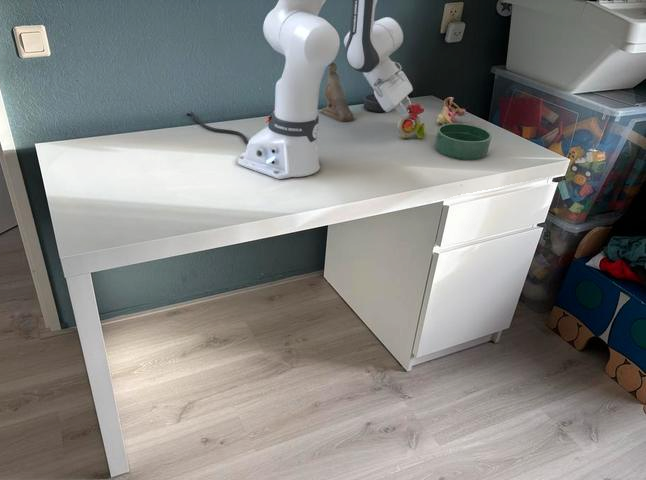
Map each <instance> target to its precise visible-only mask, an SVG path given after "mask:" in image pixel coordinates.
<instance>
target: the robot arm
mask: <svg viewBox="0 0 646 480" xmlns="http://www.w3.org/2000/svg"><path fill="white" fill-rule="evenodd" d="M326 1H327V0H278V1H277V3H276V5H275V7H274V8H273V9H271V10H270V11H269V12H268V13H267V15H266V16H265V19H264V21H263V25H262V33H263V35H264V36H263V37H264V38H265V40H266V41H267V44H268V45H270V46H271V48H272V49H273V50H274V51H276V52H277V53H279V54H281V55H283V56H284V57H285V63H284V68H283V72H282V75H281V77H280V78H279V79H278V80H277V81H276V83H275V85H274V86H275V87H274V91H275V92H274V110H273V111H272V113H270V114H268V116H267V117H266V118H265V123H268V125H267V126H266V127H264V128H263V129H261V130H260V131H258V132H257V133H255V134H254V135H253V136H251V138H250V139H249V140H247V138H246V136H245V134H243V133H242V132H240V131H239V130H238V131H237V130H233V129H224V128H217V127H212V126H209V125H207V124H205V123H204V122H202V121H201V120H199V119H198V118H197V117H196V115H195V114H194V113H193V112H192V111H191V113H190V114H189V113H188V112H187V113H186V116H190V115H191V117H192V119H193V120H194V121H195V122H196V123H197V124H199V125H200V126H202V127H203V128H204V129H207V130H209V131H212V132H218V133H225V134H226V133H228V134H234V135H237V136H240V137H241V138H242V140H243V142H244V143H245V144H246V150H245V151H243V152H242V153H241V154H240V155H239V156H238V158H237V165H238V166H241V167H243V168H246V169H250V170H253V171H255V172H258V173H260V174H264V175H266V176H269V177H271V178H275V179H279V180H284V179H288V178H302V177H308V176H310V175H311V176H312V175H314V174H316V173H317V172H318V171H319V170H320V168H321V165H320V162H319V156H318V155H319V154H318V146H317V145H318V144H317V143H318V142H317V139H318V135H319V126H320V125H319V121H320V120H319V118H320V117H319V115H318V113H319V112H318V111H319V110H318V109H319V101H320V100H319V99H320V89H321V85H322V80H323V77H324V74H325V72H326V69H327V68H328V66H330V65H331V64H332V63H333V61H334V60H335V59H336V58H337V56H338V53H339V52H340V51H339V50H340V45H341V44H340V43H341V41H340V39H341V38H340V36H339V33H338V31H337V30H336V28H334V26H333V25H332V24H331V23H330V22H328V21H327V20H326V19H325V18H323V17H320V16H319V13H320V11H321V9H322V8H323V6H324V4H325V3H326ZM378 1H379V0H351V12H350V23H349V24H350V25H349V26H350V27H349V31H348V32H347V33H346V34H345V36H344V37H343V38H344V39H343V45H344V48H345V57H346V61H347V63H348V65H349V66H350V67H351V69H353V70H355V71H357V72H359V73H362V74H363V77H364V78H365V80H366V81H367V82H368V84H369V85H370V87H371V88H372V90H373V94H374V95H375V97H376V99H377V100H378V102H379V103H380V105H381V107H382V108H383V110H384V112H386V113H389V112H390V111H392V110H393V109H394V110H395V111H397V113H399V114H400V115H401V117H402V116H403V117H404V118H405V117H407V116H408V115H409V114H410V113H409V107H408V106H409V105H411V104H412V102H411V100H410V97H409V96H408V95H409V94H411V93H412V92H413V90H414V88H413V85H412V83H411V81H410V80H409V79H408V77H407V75H406V74H405V72H404V71H403V70H402V65H401V64H400V63H399V62H395V61H393V60H391V58H390V56H391V55H392V54H393V53H395V52H396V51H397V50H398V49H399V48H400V47H401V45H403V42H404V38H405V37H404V35H405V34H404V30H403V27H402V25H401V24H400V23H399V22H398V21H397V19H395V18H392V17H390V16H384V17H382V18H380V19H378V20H375V12H376V7H377V3H378Z"/></svg>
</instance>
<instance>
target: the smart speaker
mask: <svg viewBox="0 0 646 480" xmlns="http://www.w3.org/2000/svg"><path fill="white" fill-rule="evenodd" d="M363 108H364V109H365V110H367V111H369V112H374V113H384V112H385V111H384V110H383V108H382V107H381V105H380V103H379V102H378V100H377V99H376V97H375V95H374V93H373V94H367V95H366V96H364V98H363Z"/></svg>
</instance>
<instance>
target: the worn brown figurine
mask: <svg viewBox="0 0 646 480" xmlns="http://www.w3.org/2000/svg"><path fill="white" fill-rule="evenodd" d="M328 66H329V72H328V74H327V84H326V86H325V91H324V93H325V97H326V103H327V104H326V106H324V107H322V108H321V111H320V112H321V113H322V114H324V115H326V116H329V117H331V118H332V119H334V120H337V121H340V122H350V121H353V118H354V117H353V112H352V111H351V109H350V107H349V105H348V103H347V100H346V97H345V94H344V91H343V88H342V85H341V81H340V78H339V77H340V76H339V75H338V73H337V69H338V66H337V64H336V63H334V62H331V63H330V64H329V65H328Z"/></svg>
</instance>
